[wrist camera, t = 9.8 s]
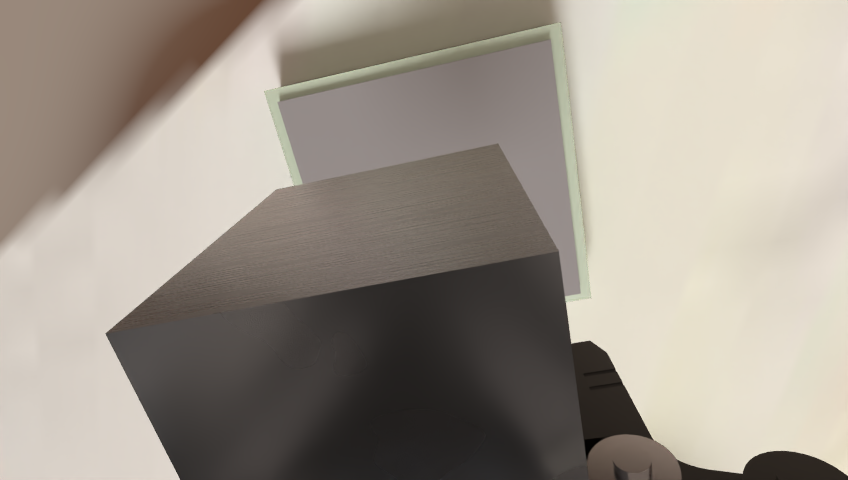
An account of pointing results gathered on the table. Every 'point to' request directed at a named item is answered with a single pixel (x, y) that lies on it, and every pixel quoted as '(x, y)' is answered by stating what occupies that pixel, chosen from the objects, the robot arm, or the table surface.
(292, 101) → the stand
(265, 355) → the block
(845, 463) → the table surface
